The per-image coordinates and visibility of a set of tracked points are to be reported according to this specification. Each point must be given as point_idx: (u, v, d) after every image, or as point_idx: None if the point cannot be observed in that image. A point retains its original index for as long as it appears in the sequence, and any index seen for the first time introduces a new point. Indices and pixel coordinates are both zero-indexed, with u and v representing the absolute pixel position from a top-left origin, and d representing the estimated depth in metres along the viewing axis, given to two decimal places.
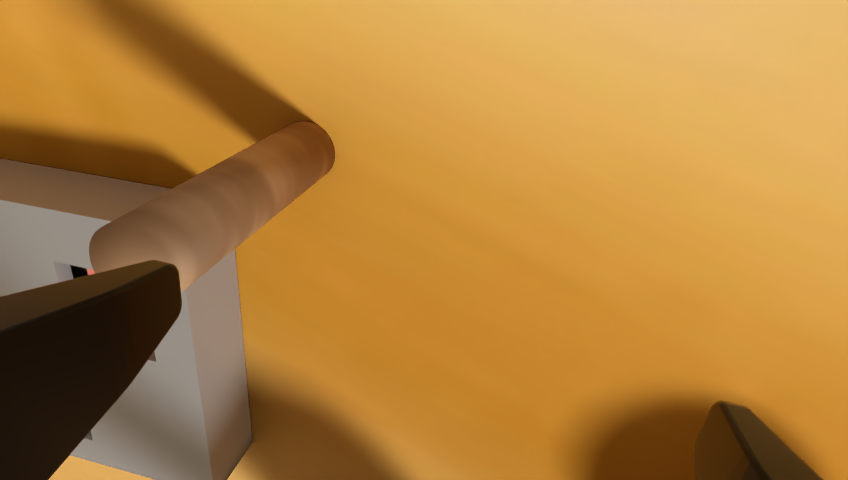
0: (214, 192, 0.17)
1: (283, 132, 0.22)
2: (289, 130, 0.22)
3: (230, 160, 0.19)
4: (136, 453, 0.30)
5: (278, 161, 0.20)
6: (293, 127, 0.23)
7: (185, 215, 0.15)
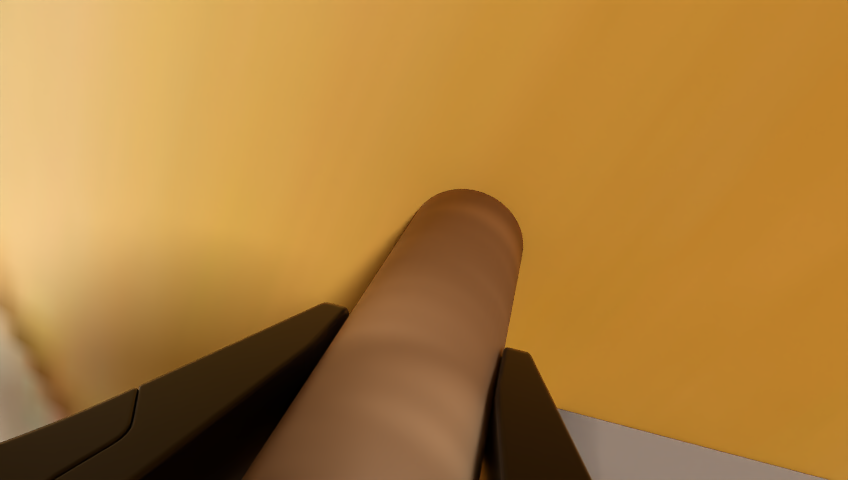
0: None
1: None
2: None
3: None
4: None
5: (364, 299, 0.09)
6: None
7: None
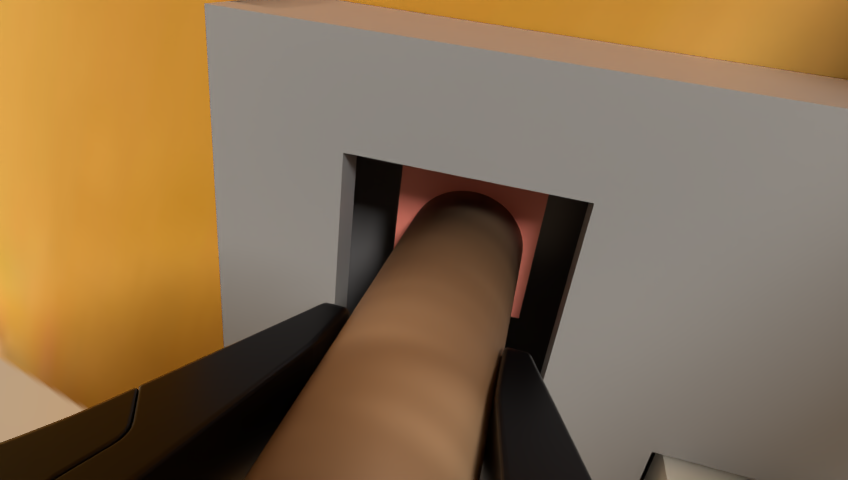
0: None
1: None
2: None
3: None
4: None
5: (364, 301, 0.09)
6: None
7: None
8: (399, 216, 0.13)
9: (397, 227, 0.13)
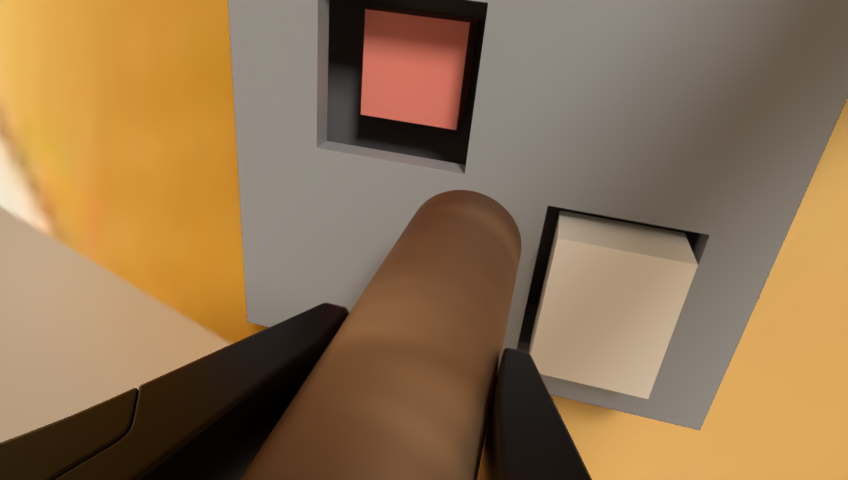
0: None
1: None
2: None
3: None
4: (748, 138, 0.14)
5: (361, 300, 0.09)
6: None
7: None
8: (364, 52, 0.17)
9: (364, 62, 0.17)
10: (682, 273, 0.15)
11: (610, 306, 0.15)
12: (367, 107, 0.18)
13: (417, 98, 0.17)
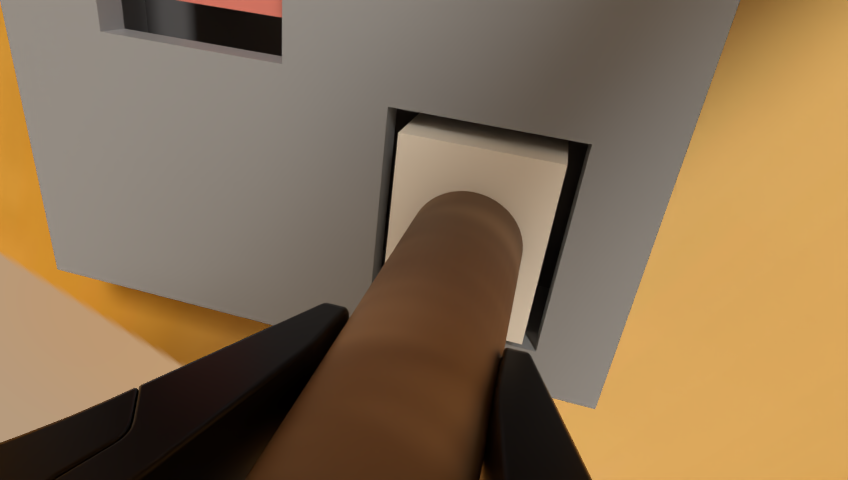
0: None
1: None
2: None
3: None
4: (634, 1, 0.10)
5: (363, 301, 0.09)
6: None
7: None
8: None
9: None
10: (549, 177, 0.11)
11: None
12: None
13: None
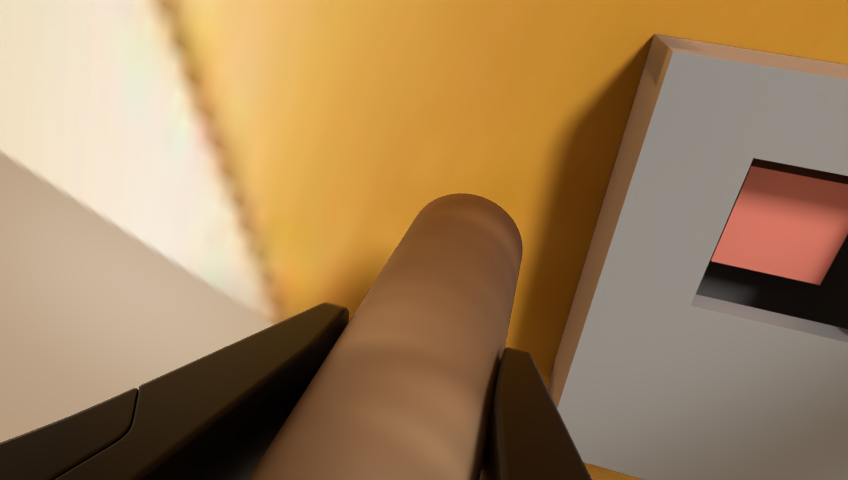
0: None
1: None
2: None
3: None
4: None
5: (364, 306, 0.09)
6: None
7: None
8: (736, 205, 0.17)
9: (732, 214, 0.17)
10: None
11: None
12: (721, 255, 0.17)
13: (784, 252, 0.17)
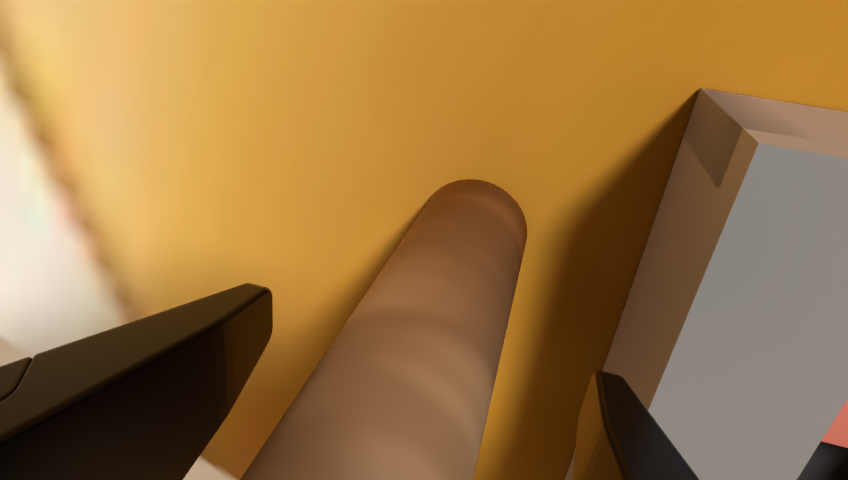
0: None
1: None
2: None
3: None
4: None
5: (379, 277, 0.10)
6: None
7: None
8: None
9: None
10: None
11: None
12: None
13: None
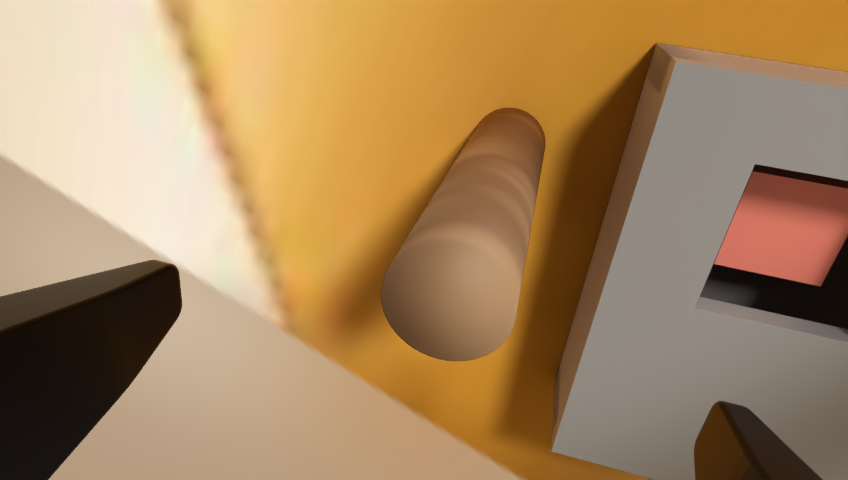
0: None
1: None
2: None
3: None
4: None
5: (465, 150, 0.16)
6: None
7: (416, 226, 0.12)
8: (738, 210, 0.17)
9: (734, 218, 0.17)
10: None
11: None
12: (724, 258, 0.18)
13: (786, 254, 0.17)
